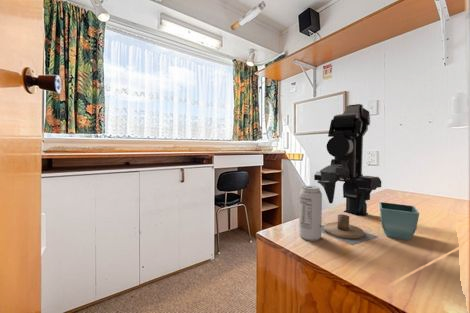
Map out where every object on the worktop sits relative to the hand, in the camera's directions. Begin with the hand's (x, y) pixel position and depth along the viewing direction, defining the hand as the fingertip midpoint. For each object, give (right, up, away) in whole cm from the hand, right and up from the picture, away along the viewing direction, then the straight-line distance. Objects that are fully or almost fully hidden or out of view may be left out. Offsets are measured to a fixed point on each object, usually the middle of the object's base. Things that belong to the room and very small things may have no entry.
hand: (343, 206), depth 66 cm
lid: (0, -8, 0) cm, 8 cm away
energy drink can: (-12, -9, -4) cm, 15 cm away
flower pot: (+15, -9, -2) cm, 17 cm away
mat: (0, -8, 0) cm, 8 cm away
